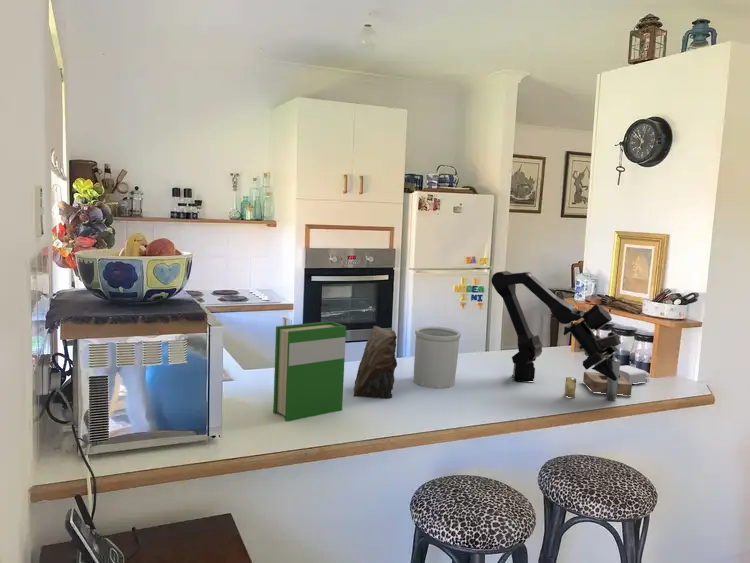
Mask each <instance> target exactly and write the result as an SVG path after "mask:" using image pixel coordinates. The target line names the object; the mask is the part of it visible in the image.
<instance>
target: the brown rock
mask: <svg viewBox="0 0 750 563" xmlns="http://www.w3.org/2000/svg"><path fill="white" fill-rule="evenodd" d="M396 348H397V333H396V332H395V330H391V329H386V328H385V329H384V328H382V327H380V326H377V325H373V326H372V329H371V332H370V335H369V336H368V339H367V341H366V345H365V348H364V350H363V354H362V357H361V361H360V362H359V365H358V370H357V372H356V373H357V374H356V377H355V378H356V379H355V380H354V385H353V386H354V387H353V398H354V397H356V398H357V397H358V398H371V399H383V400H387V399H388V400H389V399H393V393H392V390H393V388H394V385H395V384H394V383H395V370H396V368H397V367H398V362H397V361H398V360H397V358H396Z"/></svg>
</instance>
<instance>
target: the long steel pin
mask: <svg viewBox="0 0 750 563" xmlns="http://www.w3.org/2000/svg"><path fill="white" fill-rule="evenodd" d="M609 365H610V367H611V369H612V370H613V372H614V374H615V375H616V377H617V380H616V381H614V380H612V379H610V378H608V379H607V387H606V395H605V397H606V398H605V397H604V398H605V399H607V400H612V401H613V400H614V401H615V400H617V396H618V395H617V387H618V378H619V370H620V366H621V360H620V359H618V358H614V359H610V361H609Z"/></svg>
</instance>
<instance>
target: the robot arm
mask: <svg viewBox="0 0 750 563" xmlns="http://www.w3.org/2000/svg"><path fill="white" fill-rule="evenodd" d="M490 280H491V284H492V286H493V287H494V289H495V291H496V293H497V294H498V295H499V296H500V297H501V298H502V300H503V303H504V304H505V307H506V310H507V313H508V315H509V318H510V320H511V323H512V326H513V327H514V330H515V333H516V335H517V336H516V337H517V349H518V352H517V353H515V354H514V355H513V356H511V360H512V364H513V371H512V374H511V377H512V376H513V377H512V379H513V378H514V379H513V381H514V380H520V381H519V382H523V381H534V380H535V374H536V368H535V365H534V362H535V361H536V360H537V358H539V357H540V356H541V355H542V352H543V348H542V347H543V346H544V345H543V344H542V342H541V340H540V336H539V334H537V335H534V334H533V333H532V332H531V330H530V327H529V324H528V322H527V320H526V317H525V314H524V312H523V309H522V306H521V304H520V302H519V299H518V297H517V295H516V294H517V293H516V291H517V290H516V285H517V284H518V285H521V284H522V285H523V286H525V287H526V288H527V289H528V290H529V291H530V292H531V293H532V294H533V295H534V296H535V297H537V298H538V299H539V300H540V301H541V302H542V303H544V305H545V306H547V307H548V308H549V311H550V313H551V314H552V315H553V317H554V318H555V319H556V320H557V322H558V323H560V324H562V325H566V326H563V329H564V330H563V336H566V335H569V334H571V336H572V337H573V338H574V339H575V341H576V342H577V344H578V345H579V346H578V349H580V350H583V351H584V352H585V354H586V355H587V357H586V358H585V359H584V360H582V366H583V367H584V369H585V371H587V370H589V369H591V370H594V371H596V373H601V374H603V375H605V376H607V377H608V378H610V379H612V380H614V381H616V380H617V377H616V375H615V374H614V372H613V370H612V369H611V367H610V365H609V361H610V359H615V356H616V352H617V351H618V347H616V346H619V345H621V344H622V342H621V340H620V338H621V336H620V335H619V334H618V333H616V332H615V331H610V332H608V333H607V336H605V337H600V336H601V335H598V334H596V335H595V333H594V332H593V330H595V331H599V330H600V329H601V328H603V327H604V326H606V325H607V324H609V323H610V322H611V321H612V320H613V318H612V316H611V314H610V313H609V311H608V310H606V309H605V308H604V307H602V306H601V305H600V304H599V303H596V304H594V305H593V306H592V307H591V308H590V309H588V310H587V311H584V310H583V311H582V310H580V309H578V308H577V307H576V306H574V305H573V304H572V303H570V302H568V301H566V300H564V299H561V298H560V297H558V296H557V295H556V294H555V293H553V292H552V291H551V290H550V289H549V288H548V287H546V285H544V284H543V283H542V282H541V281H540V280H539V279H538V278H536V276H534V275H533V274H532V272H530V271H523V272H517V273H516V272H515V273H513V272H510V271H507V270H504V271H503V270H502V271H498V272H495V273H494V274H493V275H492V276H491V279H490ZM577 321H580V322H577ZM571 323H572V324H571ZM567 324H570V326H568V325H567ZM619 378H620V374H619Z"/></svg>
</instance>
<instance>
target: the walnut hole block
mask: <svg viewBox="0 0 750 563" xmlns="http://www.w3.org/2000/svg"><path fill="white" fill-rule="evenodd" d="M607 379H608V377H607V376H605V375H603V374H601V373H599V372H593V371H583V379H582V380H583V381H582V383H583V382H584V383H585V384H586V385H587V386H588V387H589V388H590V389H591V390H592V391H593V392H601V393H606V387H607ZM632 387H633V385H632V384H631V383H629V382H628V381H627V380H626V379H625V378H623V377H622V376H621V375H620V378H618V387H617V394H623V395H631V396H632Z"/></svg>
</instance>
